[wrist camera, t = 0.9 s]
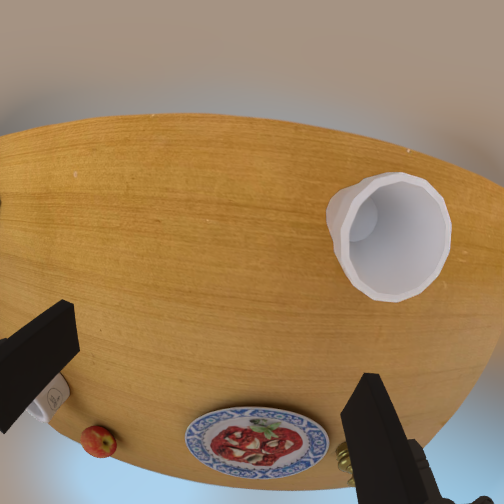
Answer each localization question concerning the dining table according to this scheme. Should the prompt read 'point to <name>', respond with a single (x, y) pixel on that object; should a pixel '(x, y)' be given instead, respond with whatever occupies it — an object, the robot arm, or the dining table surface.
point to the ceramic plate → (256, 442)
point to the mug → (49, 399)
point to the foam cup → (390, 235)
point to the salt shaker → (345, 462)
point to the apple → (98, 442)
